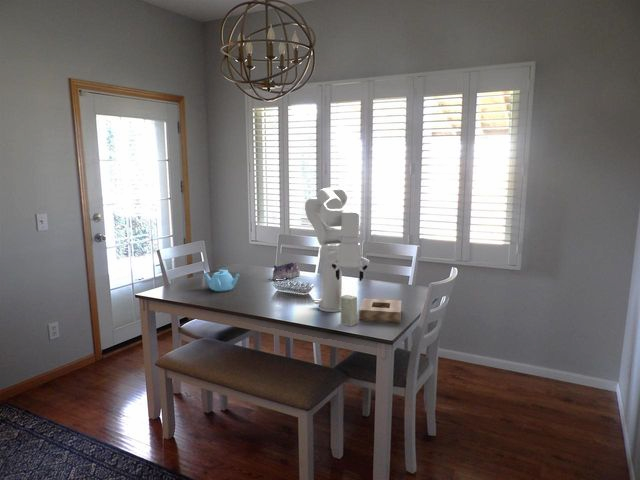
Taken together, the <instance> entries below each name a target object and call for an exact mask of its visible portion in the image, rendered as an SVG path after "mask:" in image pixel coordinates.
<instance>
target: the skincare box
mask: <svg viewBox="0 0 640 480" xmlns="http://www.w3.org/2000/svg"><path fill="white" fill-rule="evenodd" d="M340 301H341V311H340V324H342V325H346V326H349V327H353V326H356V325H358V297H357V296H353V295H349V294H345V295H341V297H340Z"/></svg>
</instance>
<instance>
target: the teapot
mask: <svg viewBox="0 0 640 480" xmlns="http://www.w3.org/2000/svg"><path fill="white" fill-rule="evenodd" d="M203 275H204V278H205V280H206V284H207V285H208V288H209V289H210V290H211V291H213V290H214V291H213V292H229V291H232V290H233V289H234V287H235V286H236V284H237V282H238V278H239V276H240V273H236V274H235V277H233V276H232V274H231V273H230V272H229V270H228V269H219V270H218V271H217V272H214V273H213V274H212V275H211V277H210V275H209V274H208V273H205V272H204V273H203ZM228 290H229V291H228Z"/></svg>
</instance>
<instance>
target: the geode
mask: <svg viewBox="0 0 640 480" xmlns="http://www.w3.org/2000/svg"><path fill="white" fill-rule="evenodd" d="M273 268H274V269H273V270H272V280H273V281H275V280H276V279H284V278H288V279H292V278H296V277H298V276H300V274H301V273H300V272H301V269H300V268H299V264H298V263H297V262H294V263H293V262H290V263H289V262H288V263H285V264H281V265H276V264H274V266H273Z"/></svg>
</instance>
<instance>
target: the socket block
mask: <svg viewBox="0 0 640 480" xmlns="http://www.w3.org/2000/svg"><path fill="white" fill-rule="evenodd" d="M401 316H402V300H398V299H396V300H395V299H378V298H363V299H362V301H361V304H360V307H359V309H358V321H359V322H372V323H375V322H376V323H377V322H378V323H389V324H401Z"/></svg>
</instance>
